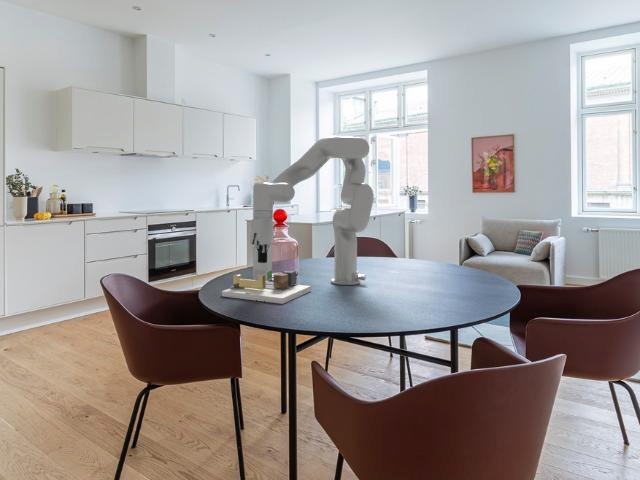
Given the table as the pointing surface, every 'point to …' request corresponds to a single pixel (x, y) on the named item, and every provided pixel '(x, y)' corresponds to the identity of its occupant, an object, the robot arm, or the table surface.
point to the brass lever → (249, 282)
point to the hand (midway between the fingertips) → (262, 262)
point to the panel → (268, 293)
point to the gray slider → (291, 277)
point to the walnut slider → (280, 280)
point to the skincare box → (262, 265)
